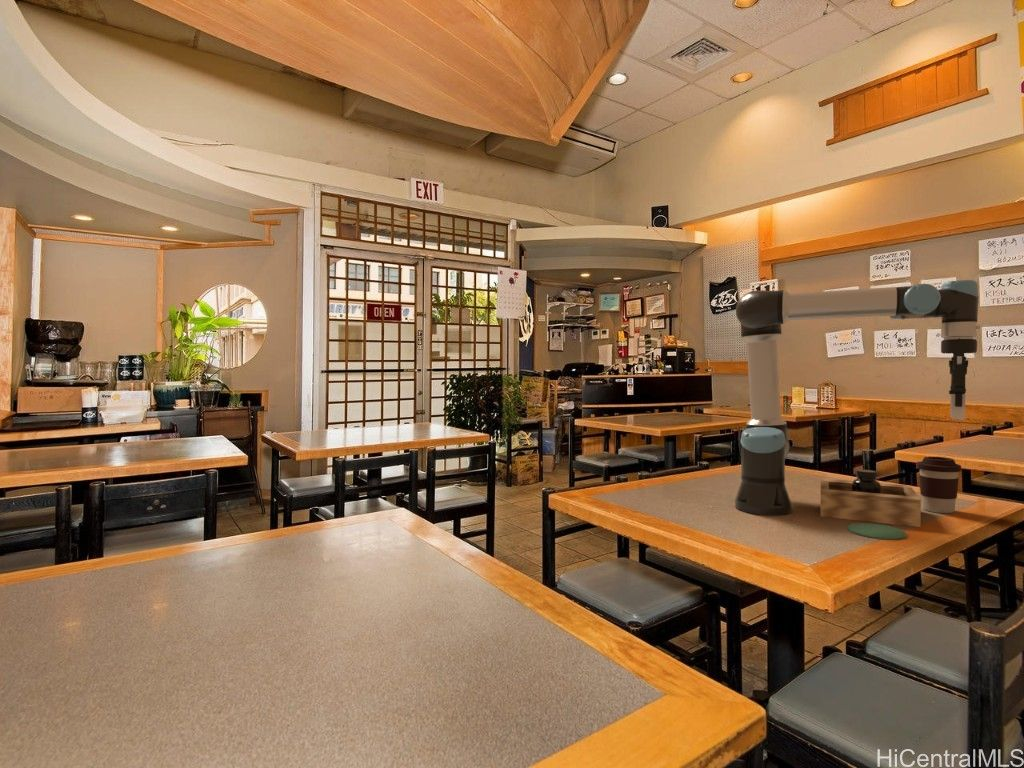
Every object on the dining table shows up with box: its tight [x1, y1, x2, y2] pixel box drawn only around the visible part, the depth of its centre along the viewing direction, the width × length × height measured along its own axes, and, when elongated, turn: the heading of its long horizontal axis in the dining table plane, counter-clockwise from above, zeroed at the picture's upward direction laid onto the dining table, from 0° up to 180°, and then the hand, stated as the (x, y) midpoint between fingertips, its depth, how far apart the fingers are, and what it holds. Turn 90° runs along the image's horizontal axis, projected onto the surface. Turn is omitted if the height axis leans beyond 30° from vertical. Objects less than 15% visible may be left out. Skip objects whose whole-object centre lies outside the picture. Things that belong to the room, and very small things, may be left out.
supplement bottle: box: [852, 469, 881, 494], centre depth 154 cm, size 7×7×12 cm
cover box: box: [820, 478, 922, 528], centre depth 154 cm, size 22×19×7 cm
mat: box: [847, 522, 907, 541], centre depth 137 cm, size 12×12×1 cm
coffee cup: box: [916, 456, 962, 514], centre depth 156 cm, size 10×10×15 cm
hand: (957, 417), depth 148 cm, fingers open, 13 cm apart
